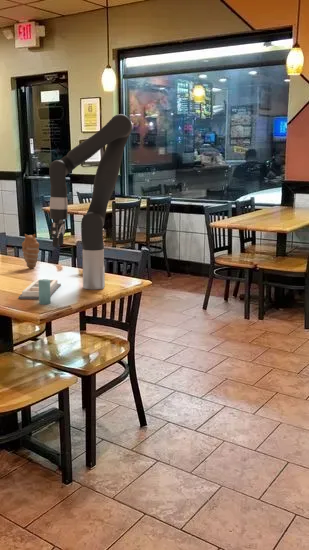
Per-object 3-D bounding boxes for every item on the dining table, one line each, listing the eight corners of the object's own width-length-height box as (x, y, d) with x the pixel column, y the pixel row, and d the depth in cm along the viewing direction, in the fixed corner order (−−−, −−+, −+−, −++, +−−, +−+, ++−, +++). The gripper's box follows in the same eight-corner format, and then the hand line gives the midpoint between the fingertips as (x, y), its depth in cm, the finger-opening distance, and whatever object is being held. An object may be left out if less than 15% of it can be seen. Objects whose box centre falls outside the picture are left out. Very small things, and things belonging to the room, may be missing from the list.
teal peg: (51, 301, 211) (51, 279, 209) (49, 304, 207) (48, 281, 205) (40, 301, 211) (40, 279, 209) (37, 304, 207) (37, 281, 205)
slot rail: (60, 285, 239) (60, 279, 238) (48, 299, 214) (47, 292, 214) (34, 284, 239) (34, 278, 238) (18, 298, 214) (18, 292, 214)
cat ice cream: (21, 269, 272) (20, 234, 268) (24, 267, 279) (22, 232, 276) (39, 269, 273) (38, 234, 269) (41, 267, 280) (40, 232, 276)
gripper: (62, 209, 221) (62, 248, 224) (71, 207, 235) (70, 244, 238) (45, 208, 221) (44, 247, 224) (54, 206, 235) (54, 243, 238)
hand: (58, 245), depth 231 cm, fingers open, 8 cm apart
